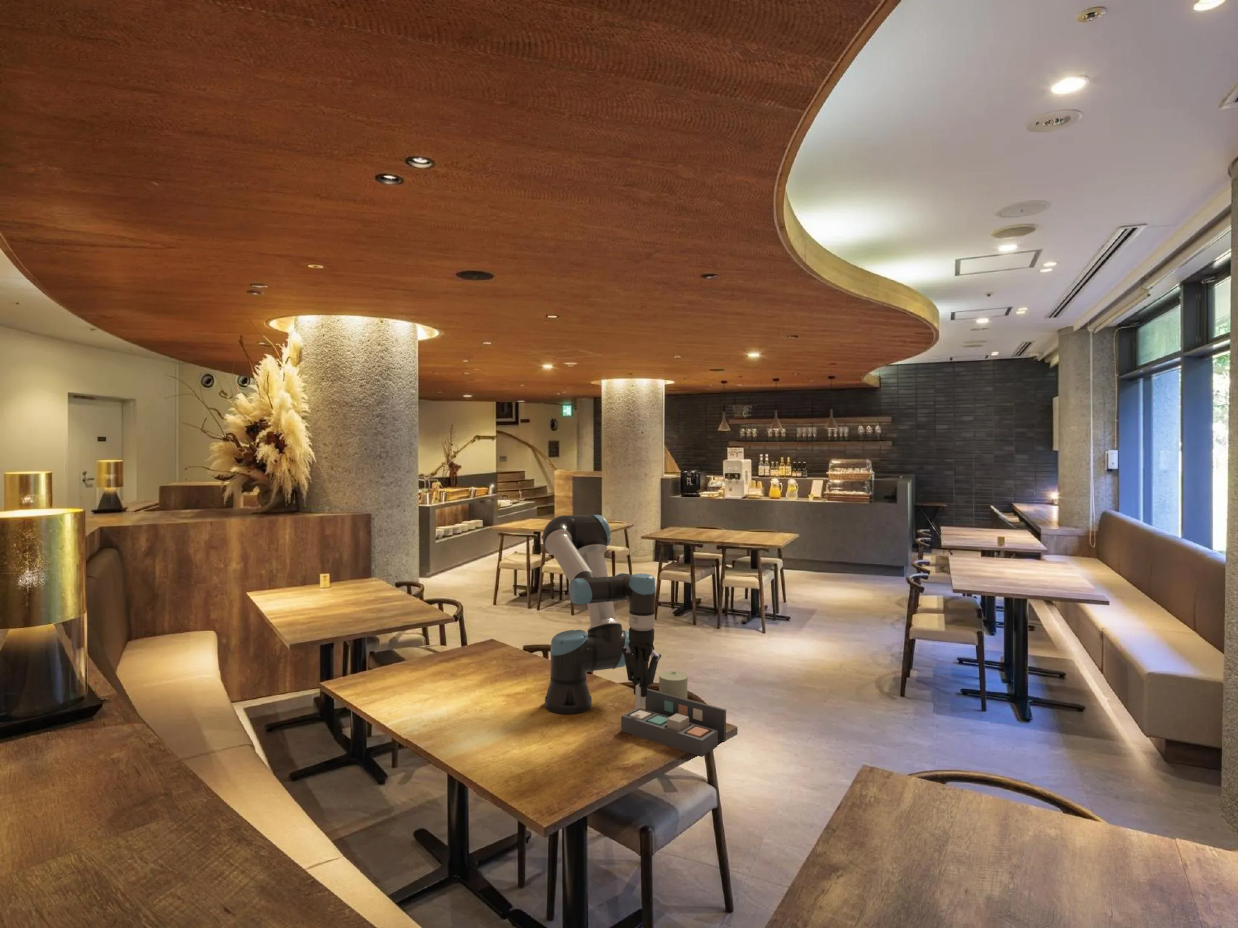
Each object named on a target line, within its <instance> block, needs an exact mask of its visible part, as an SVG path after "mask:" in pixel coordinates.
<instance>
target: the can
mask: <svg viewBox="0 0 1238 928" xmlns="http://www.w3.org/2000/svg"><path fill="white" fill-rule="evenodd" d="M688 678H689V676H688V674H687V673H685V672H681V671H677V670H675V671H674V670H668V671H663V672H660V673H659V675H658V682H659V683H658V684H659V686H658V689H659V690H658V691H659V692H662V693H666V694H670V695H674V696H677V697H681V698H685V699H688V681H689V679H688Z"/></svg>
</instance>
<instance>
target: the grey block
mask: <svg viewBox="0 0 1238 928" xmlns="http://www.w3.org/2000/svg"><path fill="white" fill-rule="evenodd" d="M688 727H689V717H688V716H684V715H681V714H677V713H676V714H674V715H673V716H671V717H669V718H667V728H668V729H672V730H675V731H678V732H681V731H683V730H684V729H686V728H688Z"/></svg>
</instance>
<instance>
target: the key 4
mask: <svg viewBox="0 0 1238 928" xmlns="http://www.w3.org/2000/svg"><path fill="white" fill-rule="evenodd" d="M708 733H709V730H706V729H703V728H700V727H694V728H693V729H691V730H689V731H688V732H687V734H688V735H692V736H695V737H698V738H702V737H704V736H705V735H707V734H708Z"/></svg>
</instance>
